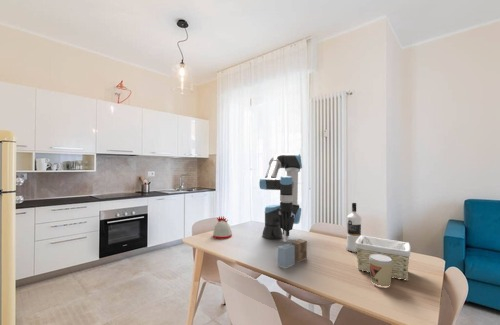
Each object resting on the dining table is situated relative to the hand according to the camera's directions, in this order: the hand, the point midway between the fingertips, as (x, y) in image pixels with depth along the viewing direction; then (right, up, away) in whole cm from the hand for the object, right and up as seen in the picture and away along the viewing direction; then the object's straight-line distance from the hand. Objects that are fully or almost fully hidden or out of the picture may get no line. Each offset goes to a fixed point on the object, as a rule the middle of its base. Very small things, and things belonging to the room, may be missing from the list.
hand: (285, 240), depth 143 cm
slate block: (-2, -8, -15) cm, 17 cm away
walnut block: (+6, -8, -7) cm, 12 cm away
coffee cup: (+38, -8, -35) cm, 52 cm away
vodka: (+44, -9, +7) cm, 46 cm away
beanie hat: (-42, -8, +35) cm, 56 cm away
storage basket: (+46, -9, -21) cm, 52 cm away
